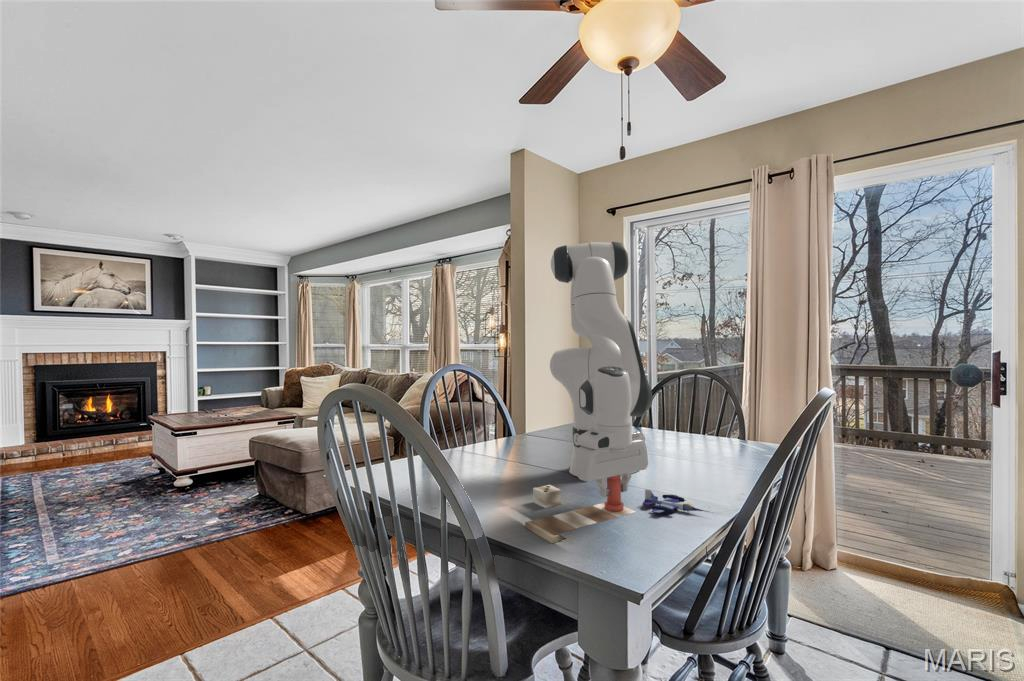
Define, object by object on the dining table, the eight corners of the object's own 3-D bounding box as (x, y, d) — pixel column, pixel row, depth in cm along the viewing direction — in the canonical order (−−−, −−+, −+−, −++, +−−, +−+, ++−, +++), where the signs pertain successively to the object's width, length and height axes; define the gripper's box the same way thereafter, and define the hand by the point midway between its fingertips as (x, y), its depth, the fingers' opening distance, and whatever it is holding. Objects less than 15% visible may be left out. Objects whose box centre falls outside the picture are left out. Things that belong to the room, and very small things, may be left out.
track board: (612, 505, 122) (612, 499, 122) (641, 517, 113) (641, 511, 113) (525, 527, 108) (525, 521, 108) (551, 543, 100) (551, 536, 100)
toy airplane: (715, 524, 109) (715, 508, 109) (655, 528, 107) (655, 511, 107) (688, 504, 122) (688, 490, 122) (634, 507, 120) (634, 493, 120)
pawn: (614, 504, 118) (614, 463, 118) (627, 509, 115) (627, 467, 115) (600, 507, 116) (600, 466, 116) (613, 513, 112) (613, 470, 112)
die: (549, 504, 123) (549, 484, 123) (561, 510, 119) (561, 489, 119) (533, 508, 121) (532, 487, 121) (544, 514, 117) (544, 493, 116)
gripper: (634, 428, 123) (635, 482, 123) (571, 438, 113) (572, 497, 113) (653, 432, 118) (654, 489, 118) (589, 443, 107) (590, 505, 107)
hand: (613, 493), depth 115 cm, fingers open, 4 cm apart
